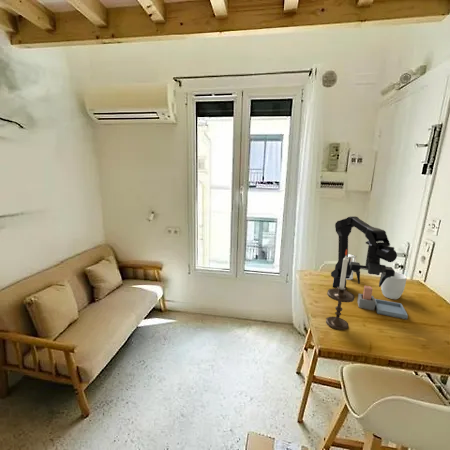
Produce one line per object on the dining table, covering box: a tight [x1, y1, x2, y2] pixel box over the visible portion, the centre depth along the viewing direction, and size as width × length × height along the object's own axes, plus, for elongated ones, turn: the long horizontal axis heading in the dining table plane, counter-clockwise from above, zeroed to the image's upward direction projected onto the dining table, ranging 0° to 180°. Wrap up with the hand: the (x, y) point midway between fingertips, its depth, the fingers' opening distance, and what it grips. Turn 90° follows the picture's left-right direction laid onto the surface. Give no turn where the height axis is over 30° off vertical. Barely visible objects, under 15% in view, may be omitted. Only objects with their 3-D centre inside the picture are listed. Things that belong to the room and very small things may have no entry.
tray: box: [374, 298, 409, 320], centre depth 130 cm, size 12×12×2 cm
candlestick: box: [325, 249, 356, 331], centre depth 114 cm, size 11×11×35 cm
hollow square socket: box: [357, 293, 376, 311], centre depth 133 cm, size 7×7×5 cm
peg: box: [362, 285, 373, 300], centre depth 133 cm, size 3×3×10 cm
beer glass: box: [346, 253, 357, 281], centre depth 168 cm, size 7×7×15 cm
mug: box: [380, 271, 407, 300], centre depth 145 cm, size 15×11×13 cm
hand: (369, 285), depth 132 cm, fingers open, 9 cm apart
